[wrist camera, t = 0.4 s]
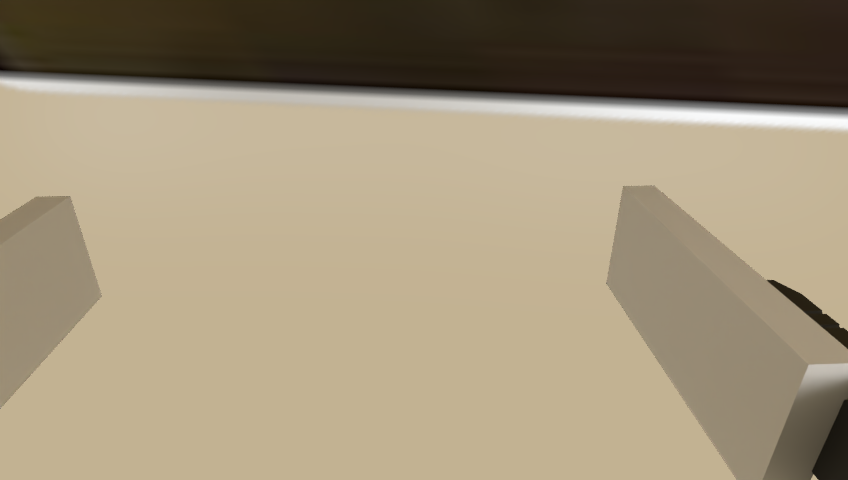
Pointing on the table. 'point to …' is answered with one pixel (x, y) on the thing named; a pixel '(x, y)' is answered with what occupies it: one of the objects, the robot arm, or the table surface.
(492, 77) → the table surface
